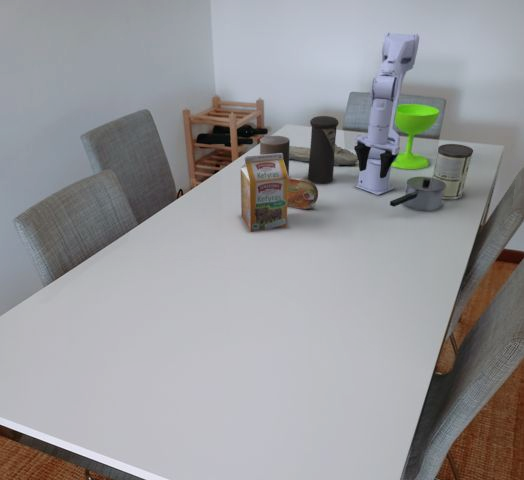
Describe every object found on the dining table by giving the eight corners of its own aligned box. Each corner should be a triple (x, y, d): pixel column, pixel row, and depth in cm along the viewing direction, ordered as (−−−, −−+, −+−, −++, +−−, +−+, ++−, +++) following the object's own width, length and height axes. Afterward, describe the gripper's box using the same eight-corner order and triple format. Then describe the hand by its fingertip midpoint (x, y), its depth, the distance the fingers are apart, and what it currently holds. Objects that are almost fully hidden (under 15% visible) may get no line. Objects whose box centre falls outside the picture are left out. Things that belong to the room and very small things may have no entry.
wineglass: (376, 158, 192) (383, 106, 180) (410, 152, 197) (419, 102, 186) (402, 171, 180) (411, 117, 169) (438, 165, 186) (449, 112, 174)
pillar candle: (288, 187, 168) (290, 140, 159) (259, 186, 169) (259, 139, 159) (288, 176, 176) (289, 131, 167) (260, 176, 176) (260, 130, 167)
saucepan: (374, 211, 153) (378, 186, 148) (417, 193, 164) (422, 170, 160) (406, 224, 146) (410, 198, 141) (448, 204, 157) (454, 180, 153)
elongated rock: (272, 153, 200) (263, 162, 193) (271, 139, 196) (262, 148, 190) (360, 159, 189) (354, 169, 182) (361, 144, 185) (355, 154, 178)
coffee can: (426, 187, 169) (435, 143, 160) (458, 188, 168) (469, 144, 159) (431, 199, 161) (441, 153, 152) (465, 200, 160) (476, 154, 151)
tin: (269, 202, 158) (270, 175, 153) (274, 199, 160) (274, 172, 155) (314, 211, 153) (316, 184, 147) (318, 208, 155) (320, 180, 150)
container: (331, 185, 170) (337, 121, 157) (305, 183, 171) (308, 120, 159) (334, 176, 176) (340, 114, 164) (308, 174, 178) (312, 113, 165)
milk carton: (250, 231, 142) (249, 162, 130) (241, 216, 150) (240, 150, 138) (286, 227, 144) (288, 159, 132) (275, 212, 152) (277, 147, 140)
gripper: (349, 121, 143) (344, 170, 151) (391, 133, 134) (383, 183, 142) (366, 117, 146) (360, 165, 155) (407, 128, 138) (399, 178, 146)
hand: (372, 173), depth 149 cm, fingers open, 7 cm apart
